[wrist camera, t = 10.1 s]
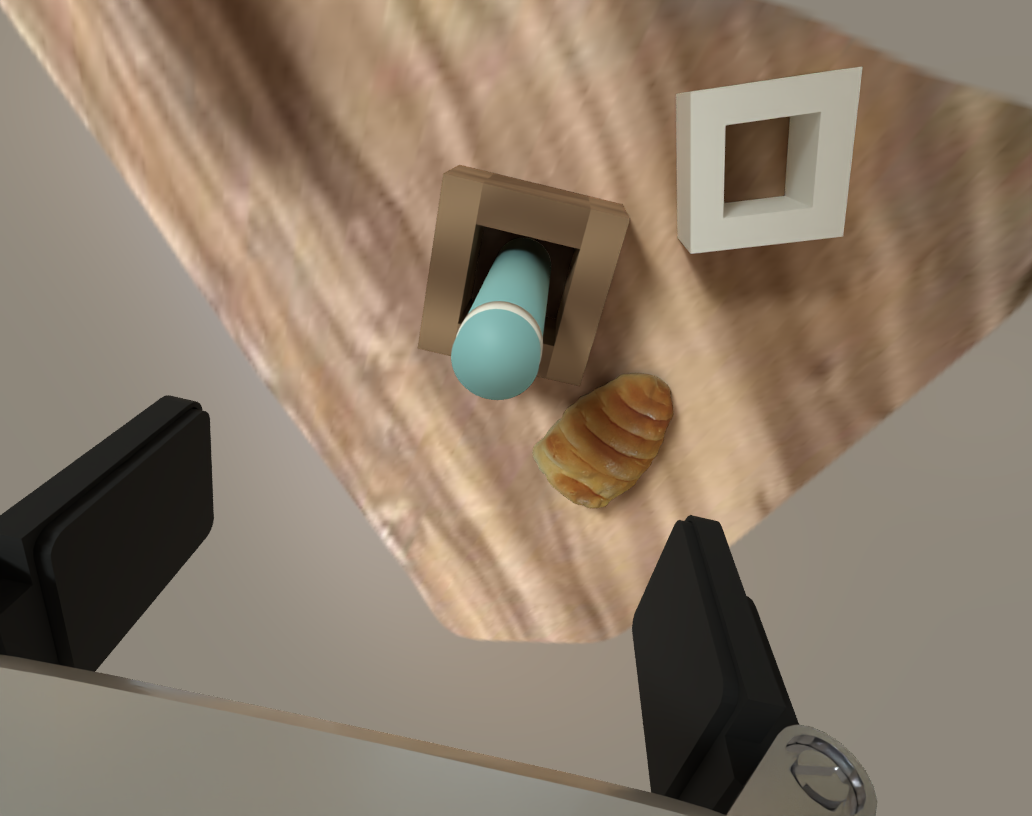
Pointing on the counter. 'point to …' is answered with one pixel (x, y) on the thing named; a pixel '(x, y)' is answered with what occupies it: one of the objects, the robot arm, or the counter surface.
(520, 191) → the brown square wooden frame
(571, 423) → the pastry
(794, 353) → the counter surface
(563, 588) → the counter surface
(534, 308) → the dowel
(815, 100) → the white square holed block
